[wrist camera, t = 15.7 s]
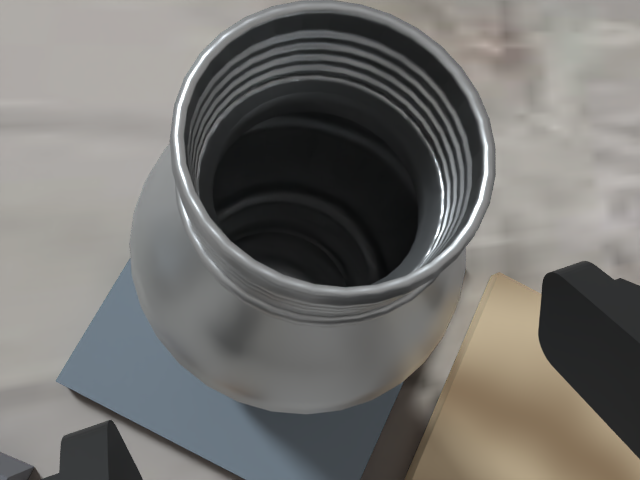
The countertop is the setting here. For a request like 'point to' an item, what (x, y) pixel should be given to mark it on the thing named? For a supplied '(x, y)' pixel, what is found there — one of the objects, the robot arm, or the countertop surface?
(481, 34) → the countertop surface
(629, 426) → the robot arm
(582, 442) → the oak mat
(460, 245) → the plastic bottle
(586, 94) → the countertop surface
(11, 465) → the charcoal brick
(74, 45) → the countertop surface
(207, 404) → the slate mat
